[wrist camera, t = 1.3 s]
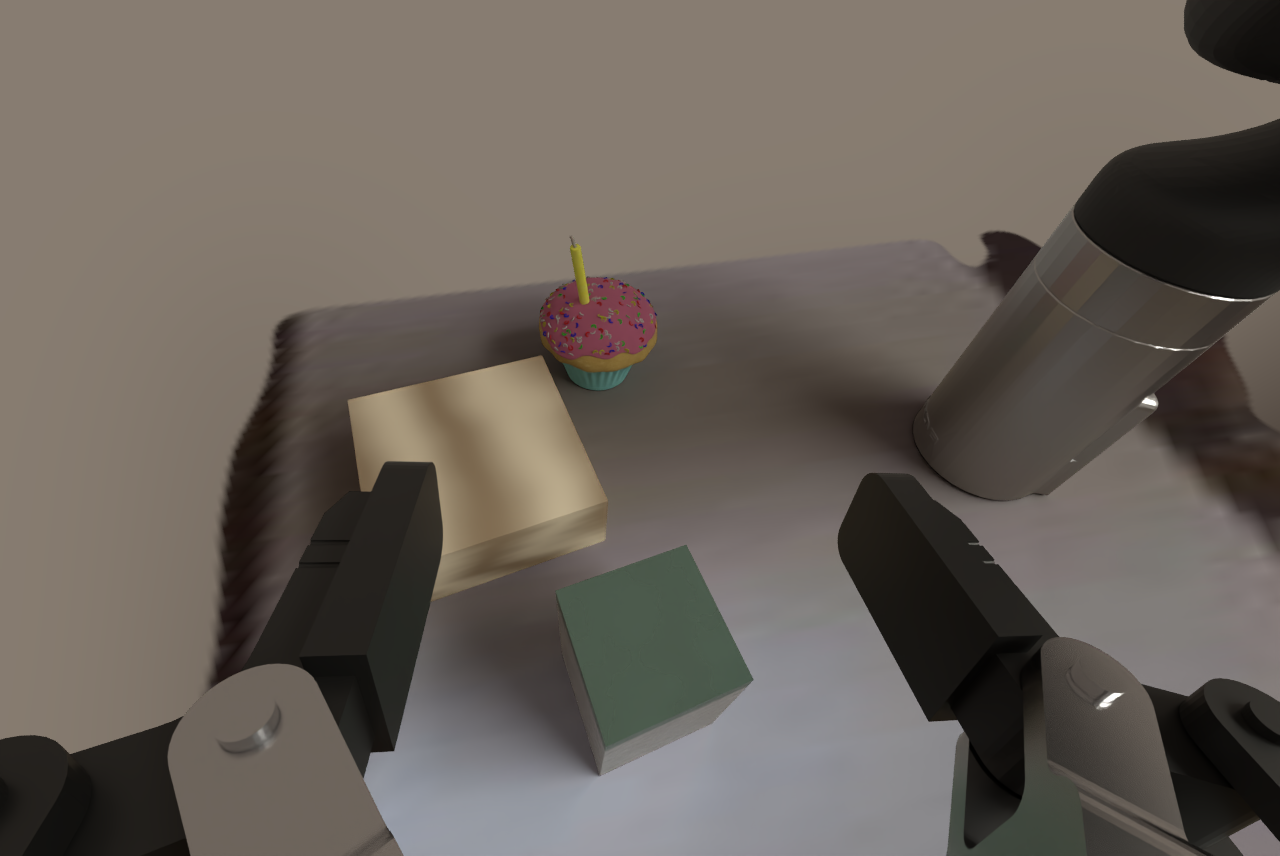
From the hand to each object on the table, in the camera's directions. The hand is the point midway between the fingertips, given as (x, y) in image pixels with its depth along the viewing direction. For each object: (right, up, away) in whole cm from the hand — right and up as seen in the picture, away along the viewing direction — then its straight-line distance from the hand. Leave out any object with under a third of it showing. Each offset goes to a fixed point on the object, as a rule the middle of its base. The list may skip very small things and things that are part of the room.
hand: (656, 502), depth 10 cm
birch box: (-10, -3, +25) cm, 27 cm away
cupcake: (-4, +6, +32) cm, 33 cm away
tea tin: (-1, -12, +18) cm, 21 cm away
